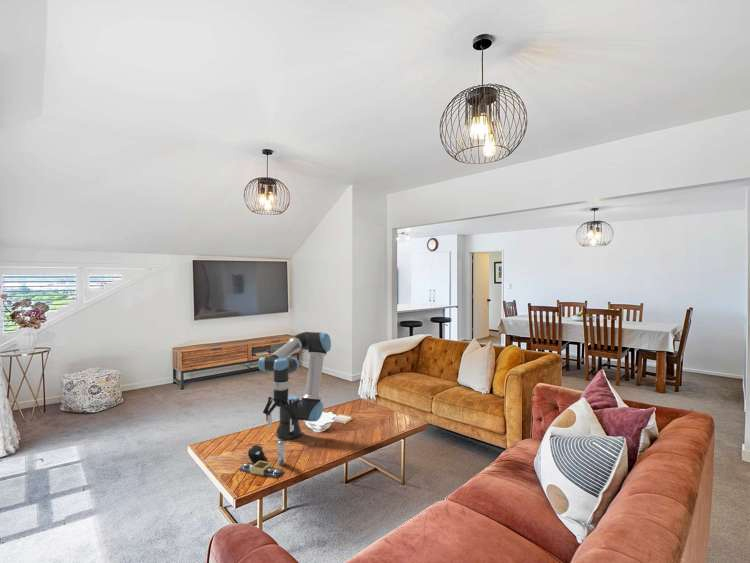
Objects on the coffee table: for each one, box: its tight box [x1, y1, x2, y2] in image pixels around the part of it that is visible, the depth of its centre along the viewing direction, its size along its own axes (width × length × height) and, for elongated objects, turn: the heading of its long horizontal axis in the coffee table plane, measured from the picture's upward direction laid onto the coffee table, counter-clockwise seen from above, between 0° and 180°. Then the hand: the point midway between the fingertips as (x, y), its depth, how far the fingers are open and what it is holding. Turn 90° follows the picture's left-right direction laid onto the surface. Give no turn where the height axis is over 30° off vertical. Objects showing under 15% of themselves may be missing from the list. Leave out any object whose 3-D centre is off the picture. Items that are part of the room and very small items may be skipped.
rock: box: [247, 444, 266, 463], centre depth 210 cm, size 10×9×6 cm
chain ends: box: [239, 460, 284, 479], centre depth 196 cm, size 8×22×3 cm, turn 71°
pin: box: [276, 439, 286, 466], centre depth 204 cm, size 4×4×12 cm
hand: (280, 429), depth 203 cm, fingers open, 13 cm apart
